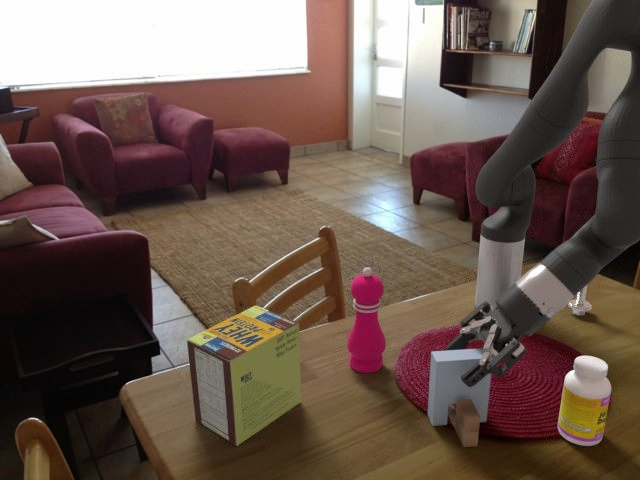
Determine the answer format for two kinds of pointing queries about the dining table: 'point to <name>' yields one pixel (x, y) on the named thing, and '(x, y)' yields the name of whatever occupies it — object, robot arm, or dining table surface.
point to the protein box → (245, 373)
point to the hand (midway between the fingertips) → (456, 367)
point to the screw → (580, 303)
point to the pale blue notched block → (455, 383)
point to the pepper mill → (366, 324)
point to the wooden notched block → (465, 421)
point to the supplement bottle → (585, 402)
